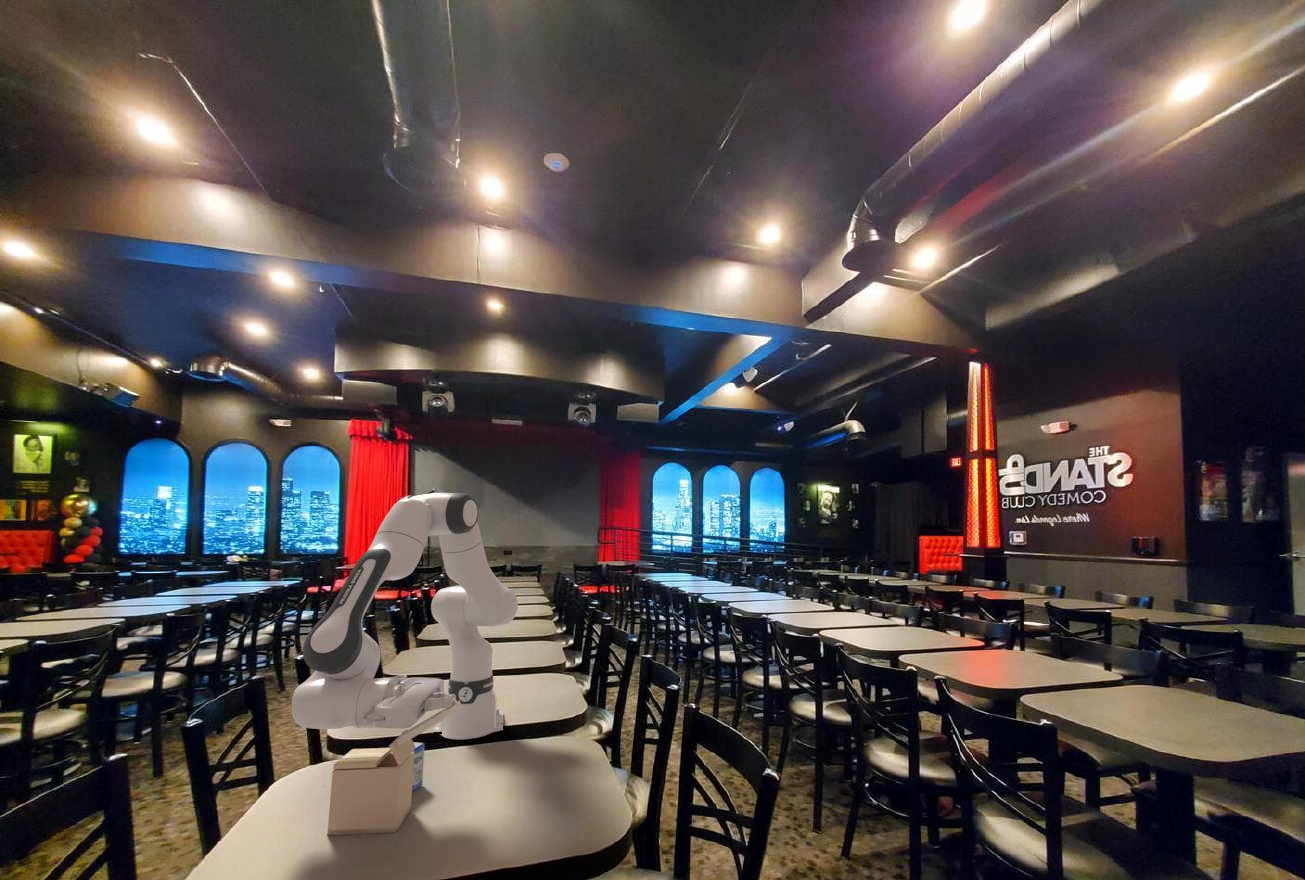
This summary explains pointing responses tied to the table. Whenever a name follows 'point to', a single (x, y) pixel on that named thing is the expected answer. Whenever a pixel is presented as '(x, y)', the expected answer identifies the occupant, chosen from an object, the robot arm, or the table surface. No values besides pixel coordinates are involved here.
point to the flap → (404, 742)
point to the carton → (370, 792)
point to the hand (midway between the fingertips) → (453, 700)
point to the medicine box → (418, 765)
